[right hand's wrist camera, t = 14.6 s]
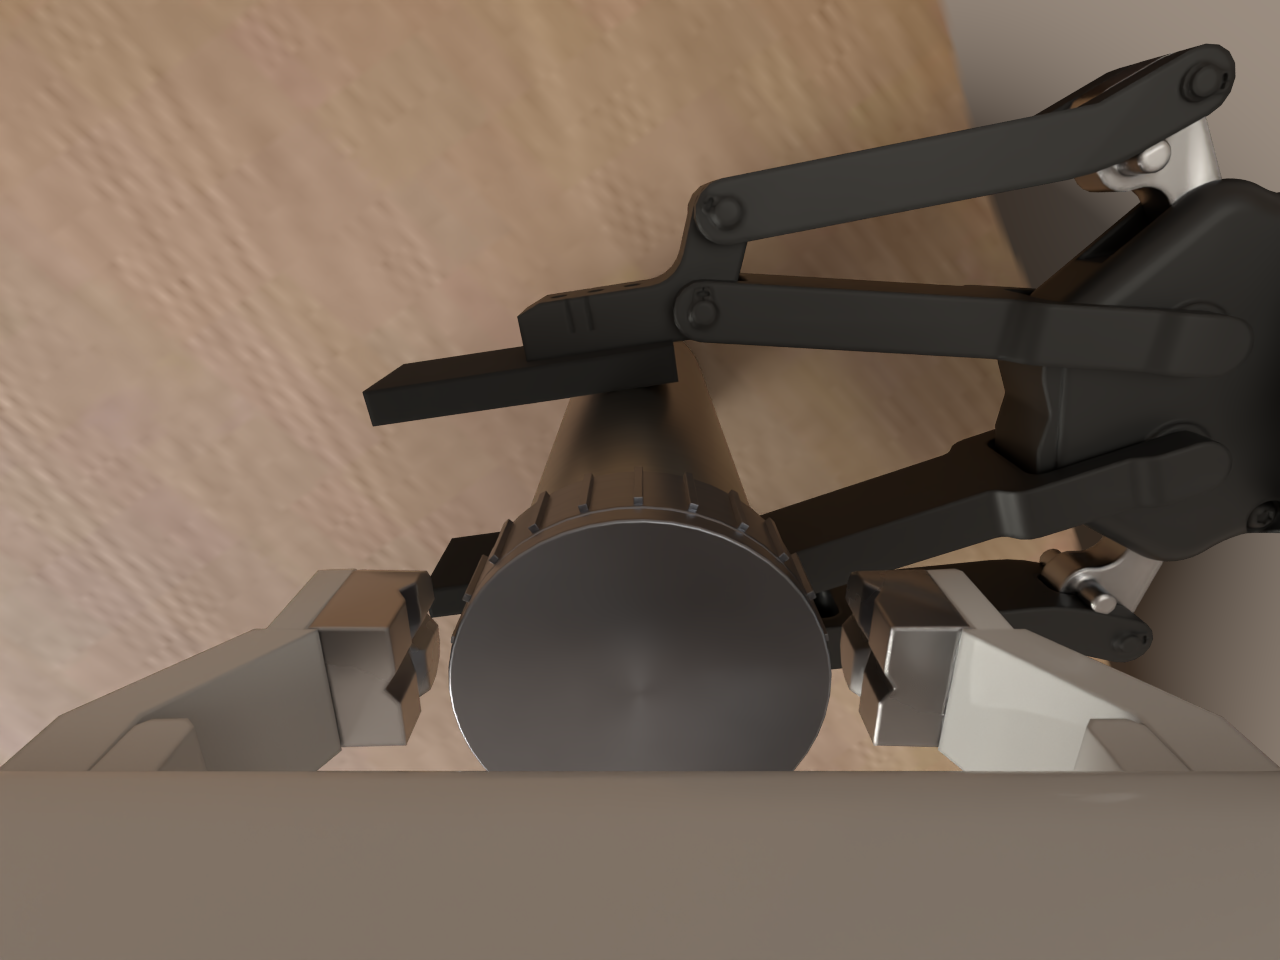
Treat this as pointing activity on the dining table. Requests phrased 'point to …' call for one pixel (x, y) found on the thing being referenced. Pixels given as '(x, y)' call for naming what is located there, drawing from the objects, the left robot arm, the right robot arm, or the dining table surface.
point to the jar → (644, 433)
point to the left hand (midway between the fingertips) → (419, 488)
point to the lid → (640, 635)
